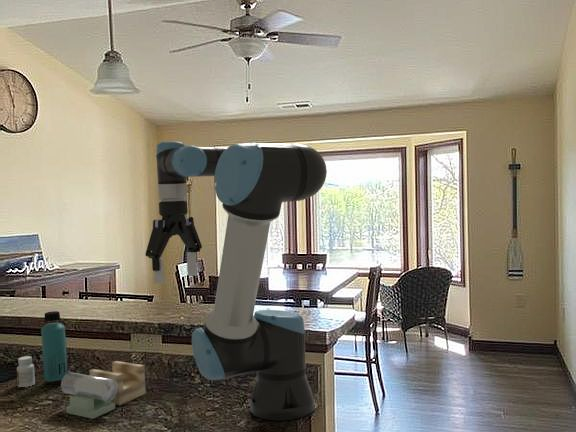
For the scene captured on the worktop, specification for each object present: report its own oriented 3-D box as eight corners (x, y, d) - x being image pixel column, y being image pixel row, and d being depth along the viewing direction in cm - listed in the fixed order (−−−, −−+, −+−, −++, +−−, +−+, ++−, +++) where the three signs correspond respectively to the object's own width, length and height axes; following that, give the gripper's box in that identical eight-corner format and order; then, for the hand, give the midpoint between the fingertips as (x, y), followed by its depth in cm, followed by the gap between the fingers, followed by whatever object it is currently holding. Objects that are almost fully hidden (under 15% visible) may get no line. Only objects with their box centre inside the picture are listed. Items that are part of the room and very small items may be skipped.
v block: (115, 408, 142) (114, 392, 142) (92, 419, 136) (91, 402, 136) (89, 402, 146) (88, 387, 146) (66, 412, 140) (65, 396, 140)
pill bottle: (20, 383, 164) (19, 356, 164) (37, 382, 164) (35, 355, 164) (15, 388, 160) (13, 360, 159) (32, 387, 160) (30, 359, 160)
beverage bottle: (59, 386, 160) (56, 314, 159) (38, 386, 161) (34, 314, 160) (73, 379, 166) (69, 309, 165) (52, 378, 167) (48, 309, 166)
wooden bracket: (145, 393, 152) (144, 365, 152) (119, 405, 144) (118, 375, 144) (117, 388, 157) (116, 360, 156) (90, 399, 149) (89, 370, 148)
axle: (118, 397, 140) (117, 376, 140) (102, 404, 136) (101, 383, 135) (77, 389, 147) (76, 369, 146) (61, 395, 142) (60, 375, 142)
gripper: (191, 199, 169) (194, 272, 170) (128, 202, 147) (132, 285, 148) (212, 198, 165) (215, 273, 166) (151, 201, 143) (155, 287, 144)
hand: (176, 279), depth 157 cm, fingers open, 13 cm apart
